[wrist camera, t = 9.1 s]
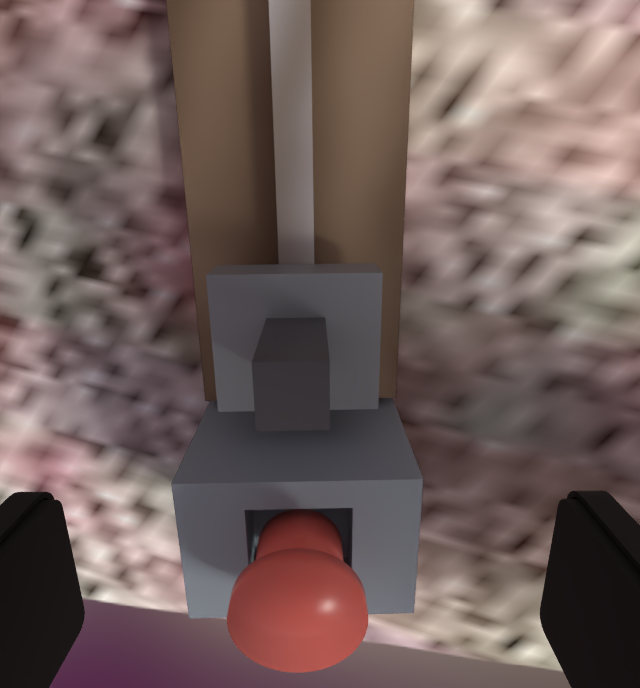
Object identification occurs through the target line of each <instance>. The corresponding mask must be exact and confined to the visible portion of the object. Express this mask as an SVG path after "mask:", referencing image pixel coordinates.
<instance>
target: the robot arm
mask: <svg viewBox="0 0 640 688" xmlns="http://www.w3.org/2000/svg"><path fill="white" fill-rule="evenodd" d="M84 614H85V612H84V605H83V600H82V596H81V591H80V586H79V582H78V577H77V572H76V567H75V563H74V558H73V553H72V549H71V544H70V539H69V535H68V530H67V525H66V521H65V516H64V511H63V507H62V504H61V502H60V501H58V500H54V497H53V496H52V494H51V493H48V492H17V493H14V494H12V495H11V496H9V497H8V498H7V499H6V500H5V501H4V502H3V503H2V504H1V505H0V688H49V686H50V685H51V683H52V681H53V679H54V678H55V676H56V674H57V672H58V670H59V668H60V667H61V665H62V663H63V661H64V660H65V658H66V656H67V654H68V652H69V651H70V649H71V647H72V645H73V643H74V642H75V640H76V638H77V636H78V634H79V633H80V630H81V628H82V625H83V621H84ZM540 619H541V624H542V628H543V631H544V633H545V635H546V637H547V639H548V641H549V643H550V645H551V647H552V649H553V651H554V653H555V655H556V657H557V659H558V661H559V663H560V665H561V667H562V669H563V671H564V673H565V675H566V678H567V680H568V681H569V684H570V686H571V687H572V688H640V526H639V525H638V523H637V522H636V521H635V520H634V519H633V518H632V517H631V516H630V515H629V514H628V513H627V512H626V511H625V510H624V509H623V508H622V506H621V505H620V504H619V503H618V502H617V501H616V500H615V499H614V498H613V497H612V496H611V495H610V494H609V493H607V492H605V491H572V492H570V493H569V494H568V496H567V499H562V500H560V502H559V505H558V509H557V515H556V521H555V526H554V532H553V538H552V544H551V550H550V555H549V561H548V567H547V573H546V578H545V584H544V590H543V596H542V601H541V607H540Z"/></svg>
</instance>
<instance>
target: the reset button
mask: <svg viewBox="0 0 640 688" xmlns="http://www.w3.org/2000/svg"><path fill="white" fill-rule="evenodd" d="M227 625H228V630H229V633H230V636H231V638H232V640H233V642H234V643H235V645H236V646H237V647H238V649H239V650H240V651H241V652H242V653H243V654H245V655H246V656H247V657H248V658H250V659H251V660H253V661H255V662H256V663H258V664H260V665H263V666H265V667H268V668H271V669H274V670H278V671H284V672H299V673H300V672H311V671H316V670H320V669H324V668H327V667H329V666H332V665H334V664H336V663H338V662H340V661H342V660H343V659H345V658H346V657H348V656H349V655H350V654H351V653H352V652H354V650H355V649H356V648H357V647H358V646H359V644H360V643H361V642H362V640H363V638H364V636H365V634H366V630H367V627H368V610H367V603H366V595H365V590H364V587H363V584H362V582H361V580H360V578H359V577H358V575H357V574H356V573H355V571H354V570H353V569H352V568H351V567H350V566H349V565H347V564H346V563H345V562H344V561H343V549H342V538H341V534H340V532H339V529H338V528H337V526H336V525H335V524H334V523H333V522H332V521H331V520H330V519H329V518H328V517H326V516H325V515H323V514H321V513H318V512H316V511H312V510H306V509H294V510H288V511H285V512H282V513H280V514H278V515H276V516H274V517H273V518H271V519H270V520H269V521H268V522H267V523H266V524H265V525H264V527H263V528H262V530H261V532H260V535H259V540H258V547H257V554H256V560H255V561H253V562H252V563H251V564H249V565H248V566H247V567H246V568H245V569H244V570H243V571H242V572H241V574H240V575H239V576H238V578H237V580H236V581H235V583H234V586H233V589H232V593H231V598H230V603H229V608H228V614H227Z"/></svg>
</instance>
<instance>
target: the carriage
mask: <svg viewBox="0 0 640 688" xmlns="http://www.w3.org/2000/svg"><path fill="white" fill-rule="evenodd" d="M382 281H383V272H382V271H381V270H380V269H379V267H378V266H377V265H376V264H375V263H350V264H275V265H217V266H216V267H215V268H214V269H212V270H211V271H210V272H209V273H208V274H207V275H206V282H207V293H208V305H209V316H210V327H211V338H212V349H213V360H214V372H215V383H216V394H217V405H218V412H240V411H255V426H256V432H257V431H312V430H330V410H355V409H378V403H379V372H380V342H381V312H382Z"/></svg>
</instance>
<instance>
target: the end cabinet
mask: <svg viewBox="0 0 640 688" xmlns="http://www.w3.org/2000/svg"><path fill="white" fill-rule="evenodd" d="M171 485H172V492H173V500H174V507H175V515H176V523H177V530H178V538H179V545H180V553H181V560H182V568H183V575H184V583H185V591H186V598H187V606H188V613H189V618H222V617H227V614H228V608H229V603H230V598H231V593H232V589H233V586H234V583H235V581H236V580H237V578H238V576H239V575H240V574H241V572H242V571H243V570H244V569H245V568H246V567H247V566H248V565H249V564H251V563H252V562H253V561H255V560H256V554H257V547H258V540H259V535H260V532H261V530H262V528H263V527H264V525H265V524H266V523H267V522H268V521H269V520H270V519H271V518H273V517H274V516H276V515H278V514H280V513H282V512H285V511H288V510H294V509H306V510H312V511H316V512H318V513H321V514H323V515H325V516H326V517H328V518H329V519H330V520H331V521H332V522H333V523H334V524H335V525H336V526H337V528H338V529H339V532H340V534H341V538H342V549H343V561H344V562H345V563H346V564H347V565H349V566H350V567H351V568H352V569H353V570H354V571H355V573H356V574H357V575H358V577H359V578H360V580H361V582H362V584H363V587H364V590H365V595H366V603H367V610H368V614H394V613H414V604H415V590H416V576H417V562H418V547H419V533H420V519H421V505H422V491H423V477H422V474H421V472H420V469H419V467H418V464H417V461H416V459H415V456H414V453H413V451H412V448H411V445H410V443H409V440H408V438H407V435H406V432H405V430H404V427H403V424H402V422H401V419H400V417H399V414H398V411H397V409H396V406H395V403H394V401H393V398H379V403H378V409H355V410H330V430H312V431H257V432H256V426H255V411H240V412H218V405H217V401H210V403H209V405H208V407H207V409H206V411H205V413H204V415H203V418H202V420H201V422H200V424H199V426H198V428H197V430H196V433H195V435H194V437H193V439H192V441H191V443H190V445H189V448H188V450H187V452H186V454H185V456H184V458H183V460H182V463H181V465H180V467H179V469H178V471H177V473H176V475H175V478H174V480H173V482H172V484H171Z"/></svg>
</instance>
